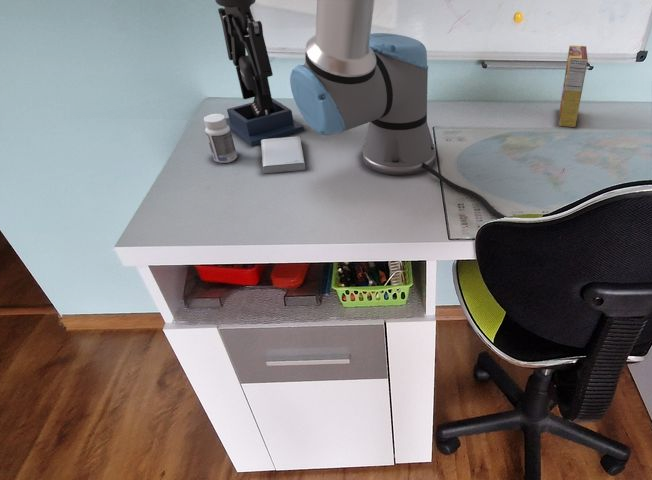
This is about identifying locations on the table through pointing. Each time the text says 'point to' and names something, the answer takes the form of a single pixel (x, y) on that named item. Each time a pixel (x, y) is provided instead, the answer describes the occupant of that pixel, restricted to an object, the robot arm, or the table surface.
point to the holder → (262, 123)
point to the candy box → (573, 85)
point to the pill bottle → (220, 138)
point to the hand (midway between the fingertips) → (258, 102)
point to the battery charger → (251, 84)
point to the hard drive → (282, 154)
